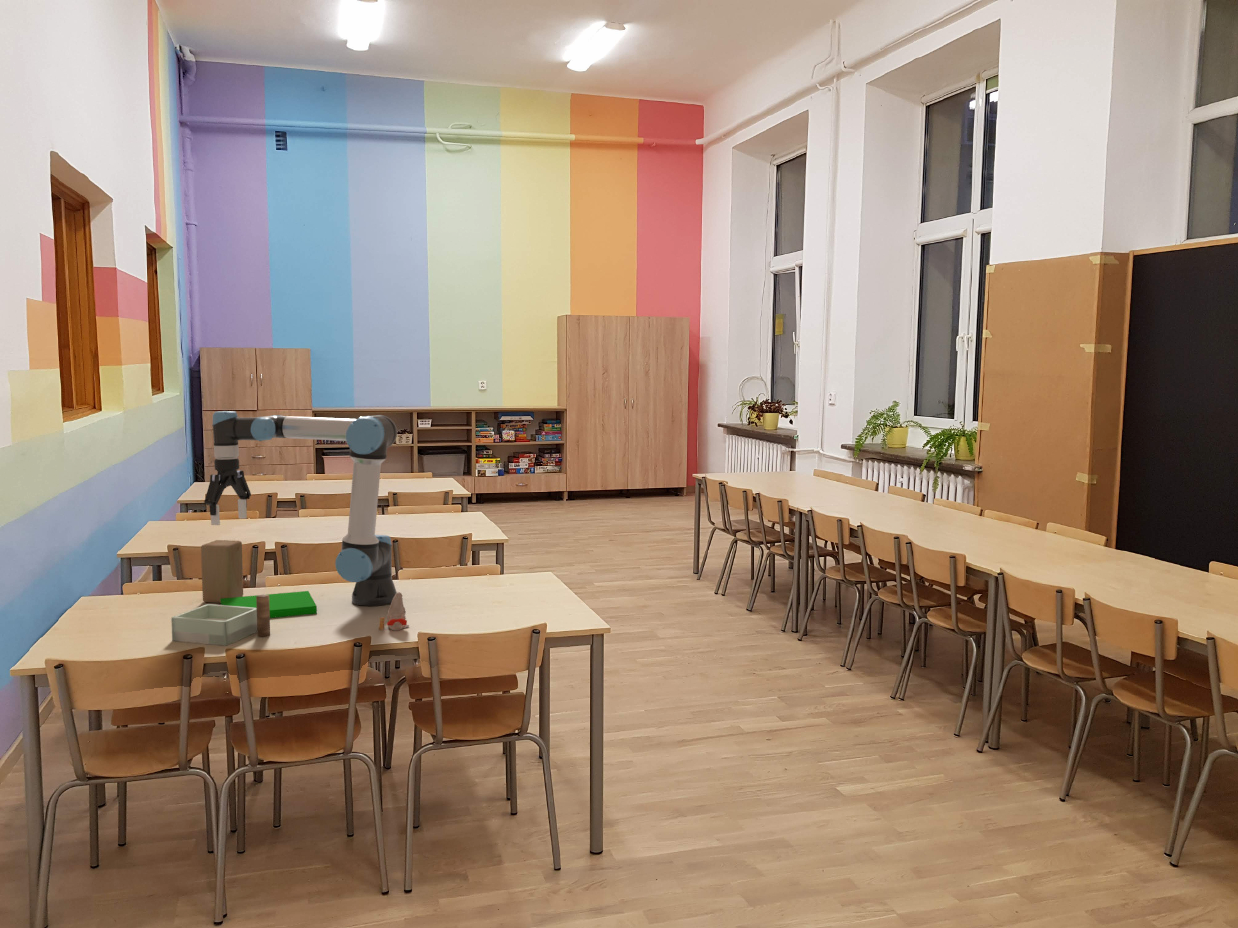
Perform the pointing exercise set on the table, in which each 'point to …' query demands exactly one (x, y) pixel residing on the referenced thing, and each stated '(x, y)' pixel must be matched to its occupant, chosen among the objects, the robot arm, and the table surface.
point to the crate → (214, 624)
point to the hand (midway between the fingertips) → (229, 521)
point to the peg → (263, 615)
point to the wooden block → (221, 570)
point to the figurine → (395, 614)
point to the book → (279, 603)
